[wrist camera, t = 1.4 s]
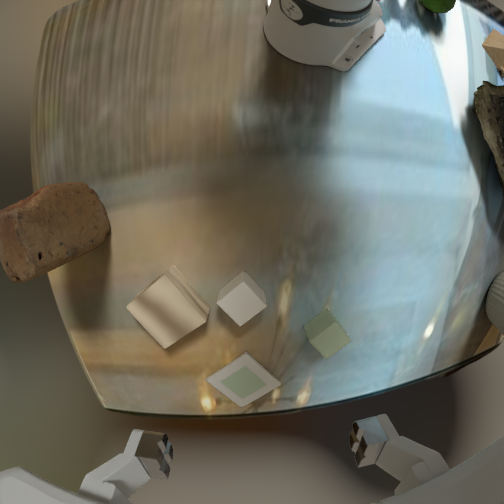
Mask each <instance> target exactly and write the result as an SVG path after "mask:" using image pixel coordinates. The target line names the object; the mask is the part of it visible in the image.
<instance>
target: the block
mask: <svg viewBox="0 0 504 504" xmlns="http://www.w3.org/2000/svg"><path fill="white" fill-rule="evenodd" d="M109 230H110V224H109V219H108V216H107V212H106V210H105V208H104V206H103V204H102V202H101V201H99V197H98V195H97V194H96V193H95V191H94V190H93V189H91V188H89V187H88V186H87V184H85V183H79V182H70V183H57V184H51V185H47V186H44V187H42V188H40V189H39V190H38V191H36V192H35V193H33V194H32V195H31V196H30V197H28V198H26V199H25V200H22V201H19V202H18V203H16V204H13V205H11V206H9V207H7V208H5V209H3V210H1V211H0V260H1V262H2V265H3V268H4V270H5V272H6V274H7V275H8V277H9V279H10V281H12V282H23V281H28V280H31V279H33V278H36V277H38V276H41V275H43V274H45V273H47V272H49V271H51V270H53V269H55V268H57V267H59V266H61V265H63V264H66V263H68V262H70V261H72V260H74V259H76V258H78V257H80V256H82V255H84V254H86V253H88V252H90V251H91V250H93V249H95V248H96V247H98V246H99V245H100V244H102V243H103V241H104V239H105V237H106V235H107V234H108V233H109Z"/></svg>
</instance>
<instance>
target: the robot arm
mask: <svg viewBox="0 0 504 504" xmlns="http://www.w3.org/2000/svg"><path fill="white" fill-rule="evenodd" d="M377 1H380V0H377ZM266 6H267V10H268V13H267V16H266V18H265V21H264V33H265V36H266V38H267V40H268V41H269V43H270V44H271V45H272V46H273V47H274V48H275V49H276V50H277V51H278V52H279V53H281V54H282V55H284V56H286V57H287V58H289V59H292V60H294V61H297V62H300V63H304V64H309V65H324V66H330V67H332V68H335V69H337V70H340V71H348V70H349V69H350V68H351V67H352V66H353V65H354V64H355V63H356V62H357V61H358V60H359V58H360V57H361V56H362V55H363V54H364V53H365V52H366V51H367V50H368V49H369V48H370V47H371V46H372V45H373V44H374V43H375V42H376V41H377V40H378V39H379V38H380V37H381V36H382V35H383V34H384V32H385V31H386V28H385V26H384V23H383V22H382V20H381V17H382V16H383V13H382V10H381V8H380V6H379V5H378V3H377V2H376V1H375V0H267V2H266ZM345 59H347V60H348V61H349V62H348V61H346V60H345ZM352 428H353V431H352V432H351V433H350V436H349V443H350V447H351V450H352V451H354V452H355V453H356V454H355V457H354V458H355V460H356V463H357V466H358V467H362V466H366V465H370V464H374V463H375V464H376V465H378V466H379V467H381V468H382V469H383V470H385V471H386V472H388V473H389V474H391V475H392V476H394V477H395V478H397V479H398V480H400V481H401V483H400V484H399V486H398V487H397V488H396V490H395V491H394V492H395V494H396V495H395V496H392V497H390V498H387V499H384V500H381V501H378V502H375V503H372V504H504V437H501V438H499V439H497V440H496V441H495V442H493V443H492V444H490V445H489V446H488V447H486V448H485V449H483V450H482V451H480V452H479V453H477V454H476V455H474V456H473V457H471V458H470V459H468V460H466V461H465V462H463V463H461V464H460V465H458V466H456V467H454V468H453V469H451V470H450V469H449V467H448V466H447V464H446V463H445V461H444V459H443V458H442V456H441V455H440V453H439V452H436V451H434V450H432V449H429V448H427V447H425V446H423V445H420V444H418V443H416V442H414V441H412V440H410V439H407V438H405V437H403V436H401V437H399V435H398V433H397V432H396V430H395V428H394V427H393V425H392V423H391V422H390V420H389V418H388V416H387V415H386V414H383V415H379V416H376V417H371V418H367V419H363V420H359V421H355V422H354V423H353V426H352ZM172 459H173V448H172V445H171V443H169V442H168V436H167V434H165V433H157V432H150V431H144V430H137V429H134V430H133V431H132V434H131V436H130V438H129V441H128V443H127V445H126V448H125V450H124V453H123V454H121V453H120V454H119V455H117V456H116V457H114V458H113V459H111V460H109V461H108V462H106V463H105V464H103V465H101V466H100V467H98V468H97V469H95V470H93V471H92V472H90V473H88V474H87V475H86V476H85V478H84V480H83V482H82V485H81V487H80V489H79V492H78V494H77V493H74V492H72V491H70V490H67V489H65V488H63V487H60V486H58V485H56V484H54V483H52V482H50V481H48V480H45V479H44V478H42V477H40V476H38V475H36V474H34V473H32V472H30V471H29V470H27V469H25V468H23V467H15V468H11V469H7V470H5V471H2V472H0V504H132V503H131V502H130V501H129V500H128V498H129V497H130V496H131V495H132V494H134V493H135V492H136V491H137V490H138V489H139V488H140V487H141V486H142V485H143V484H145V483H146V482H147V481H148V480H149V479H150V477H153V478H160V479H168V477H169V472H170V467H169V465H168V464H169V463H171V462H172Z"/></svg>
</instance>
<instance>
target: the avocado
mask: <svg viewBox="0 0 504 504" xmlns="http://www.w3.org/2000/svg"><path fill="white" fill-rule="evenodd" d="M419 1H420V2H421V4H422V5H423V6H424V7H425V8H427V9H429V10H431V11H432V12H435V13H446V12H448V11H449V10H451V9H452V8H453V7H454V4H455V2H456V0H419Z"/></svg>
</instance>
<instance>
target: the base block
mask: <svg viewBox="0 0 504 504" xmlns="http://www.w3.org/2000/svg"><path fill="white" fill-rule="evenodd" d="M126 308H127V309H128V310H129V311H130V312H131V314H132V315H133V316H134V317H135V318H136V319H137V320H138V321H139V323H140V324H141V325H142V326H143V327H144V328H145V329H146V330H147V331H148V332H149V333H150V334H151V335H152V337H153V338H154V339H155V340H156V341H157V342H158V343H159V344H160V345H161V346H162V347H163V348H164V349H165V348H167V347H169V346H170V345H172V344H173V343H175V342H176V341H178V340H179V339H181V338H182V337H184V336H185V335H187V334H188V333H190V332H191V331H193V330H194V329H196V328H197V327H199V326H200V325H202V324H203V323H205V322H206V321H207V317H208V314H209V310H210V307H209V305H208V304H207V303H206V302H205V301H204V300H203V299H202V297H201V296H200V295H199V294H198V293H197V292H196V291H195V289H194V288H193V287H192V286H191V285H190V283H189V282H188V281H187V280H186V279H185V278H184V276H183V275H182V274H181V273H180V272H179V270H178V269H177V268H176V267H175V265H173V266H172V267H170V268H169V269H168V270H167V271H165V272H164V273H163V274H162V275H161V276H159V277H158V278H157V279H156V280H154V281H153V282H152V283H151V284H150V285H148V286H147V287H146V288H145V289H144V290H142V291H141V292H140V293H139V294H138V295H136V297H135V298H134V299H133V300H132V301H131V302H130V303H129V304H128V305H127V306H126Z"/></svg>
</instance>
